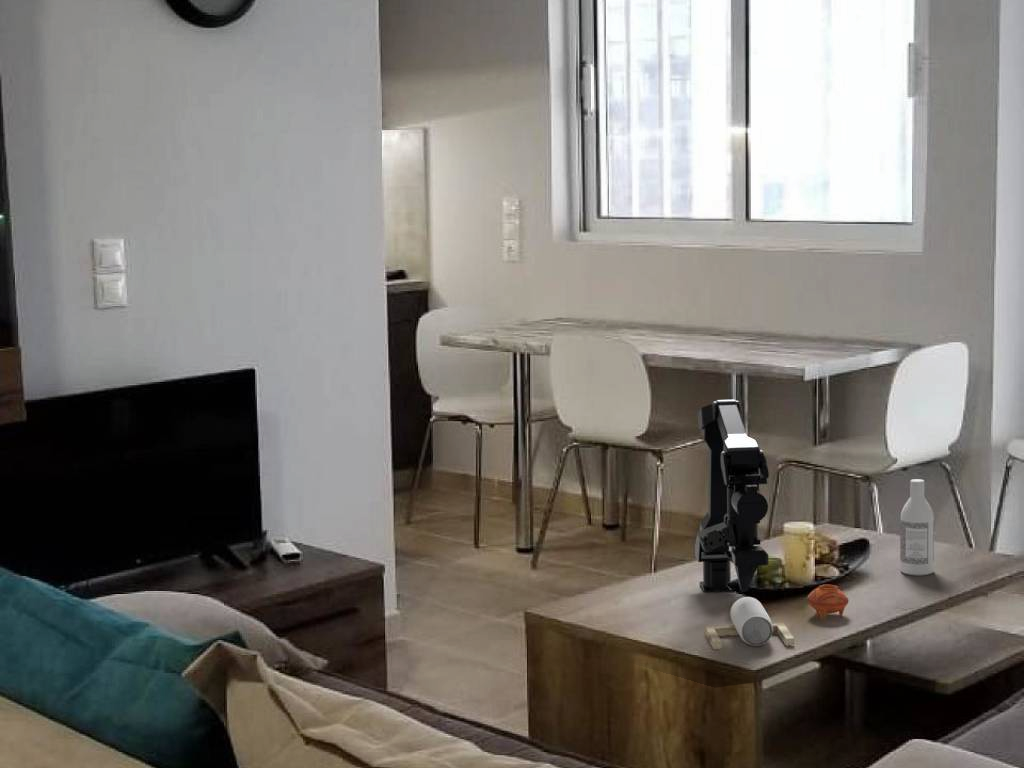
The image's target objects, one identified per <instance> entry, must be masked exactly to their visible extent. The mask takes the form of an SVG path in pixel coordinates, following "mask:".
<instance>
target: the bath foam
mask: <svg viewBox="0 0 1024 768" xmlns="http://www.w3.org/2000/svg"><path fill="white" fill-rule="evenodd" d="M925 484H926V483H925V480H924V479H919V478H916V479H915V478H914V479H910V485H909V486H910V487H909V489H910V491H909V493H910V494H909V495H910V497H909V498H908V499H907V501H906V503H905V504H904V505H903V508H902V510H901V512H900V526H899V527H900V534H899V535H900V536H899V537H900V539H899V541H900V542H899V544H900V546H899V549H900V550H899V551H900V553H899V556H900V557H899V558H900V559H899V561H900V563H899V565H900V566H899V568H900V571H901V573H903V574H905V575H910V576H928V575H930V574H932V573H933V572H934V568H935V567H934V566H935V565H934V563H935V561H934V560H935V557H934V556H935V554H934V553H935V516H934V511H933V509H932V507H931V505H930V503H929V502H928V500H927V499H926V497H925Z"/></svg>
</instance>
